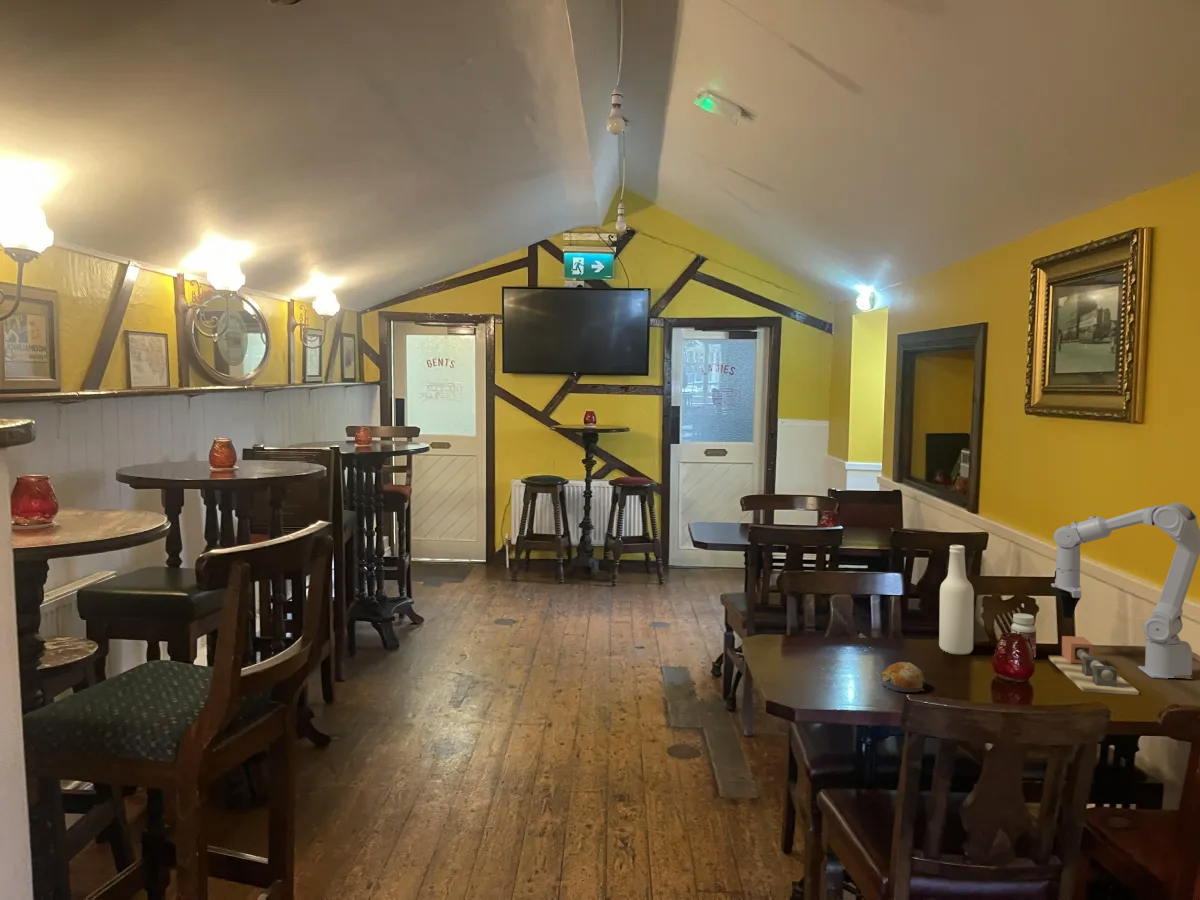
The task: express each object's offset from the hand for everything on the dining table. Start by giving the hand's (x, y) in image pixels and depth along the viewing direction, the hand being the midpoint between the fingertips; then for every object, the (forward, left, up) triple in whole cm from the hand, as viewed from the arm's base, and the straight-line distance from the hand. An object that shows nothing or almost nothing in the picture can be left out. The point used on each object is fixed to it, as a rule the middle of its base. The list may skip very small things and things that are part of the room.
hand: (1067, 617), depth 222 cm
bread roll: (+48, +35, -11) cm, 60 cm away
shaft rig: (0, +18, -10) cm, 20 cm away
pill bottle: (+12, +4, -11) cm, 16 cm away
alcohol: (+29, +2, -11) cm, 31 cm away
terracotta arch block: (0, +8, -9) cm, 12 cm away
